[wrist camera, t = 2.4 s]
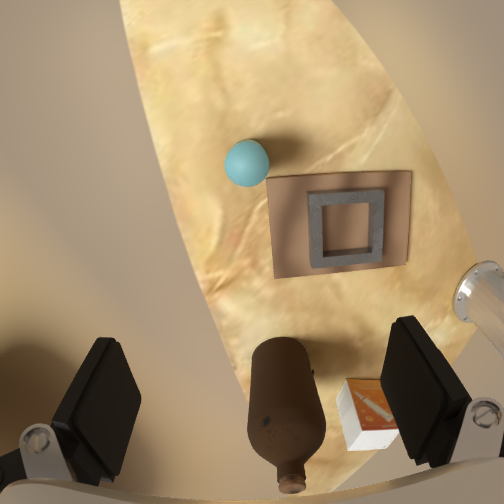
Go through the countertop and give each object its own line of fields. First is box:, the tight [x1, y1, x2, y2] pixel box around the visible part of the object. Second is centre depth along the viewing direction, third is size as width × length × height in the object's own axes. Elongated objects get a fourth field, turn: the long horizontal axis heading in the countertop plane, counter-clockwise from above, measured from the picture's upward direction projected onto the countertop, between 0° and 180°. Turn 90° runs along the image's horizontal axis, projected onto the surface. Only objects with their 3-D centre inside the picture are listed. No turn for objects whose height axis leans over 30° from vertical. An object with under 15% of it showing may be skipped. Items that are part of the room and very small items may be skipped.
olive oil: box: [247, 338, 326, 494], centre depth 41 cm, size 11×11×25 cm
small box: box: [336, 379, 399, 451], centre depth 50 cm, size 8×6×13 cm
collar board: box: [266, 171, 411, 279], centre depth 42 cm, size 20×14×3 cm
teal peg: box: [225, 139, 270, 187], centre depth 36 cm, size 4×4×9 cm
